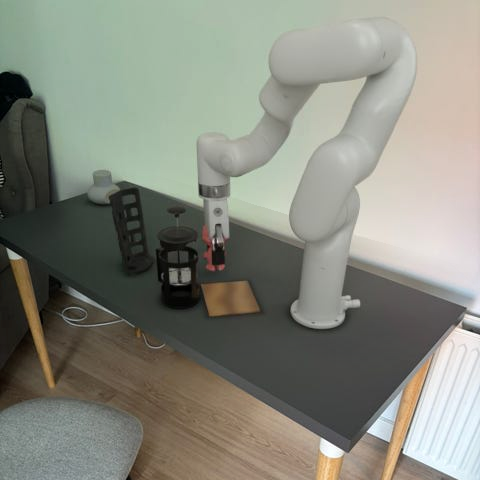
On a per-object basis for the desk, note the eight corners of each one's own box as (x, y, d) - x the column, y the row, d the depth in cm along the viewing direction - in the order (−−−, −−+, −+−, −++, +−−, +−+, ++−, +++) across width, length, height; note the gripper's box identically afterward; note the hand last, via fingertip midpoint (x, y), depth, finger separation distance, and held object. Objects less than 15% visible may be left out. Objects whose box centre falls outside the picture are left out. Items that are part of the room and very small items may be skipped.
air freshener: (108, 194, 178) (105, 165, 172) (125, 200, 174) (123, 171, 168) (84, 203, 170) (80, 173, 164) (101, 209, 166) (97, 179, 161)
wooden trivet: (247, 282, 130) (247, 280, 130) (260, 312, 119) (260, 310, 119) (200, 285, 128) (200, 284, 128) (209, 316, 117) (209, 314, 116)
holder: (143, 277, 130) (128, 201, 119) (115, 276, 132) (98, 201, 121) (157, 258, 139) (145, 186, 128) (131, 257, 141) (117, 186, 130)
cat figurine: (226, 260, 135) (226, 217, 128) (232, 272, 129) (232, 228, 122) (200, 263, 133) (198, 220, 127) (204, 275, 128) (203, 231, 121)
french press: (210, 298, 123) (209, 207, 110) (184, 315, 117) (180, 221, 104) (173, 282, 129) (169, 195, 116) (147, 298, 122) (139, 207, 109)
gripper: (237, 200, 113) (237, 272, 123) (223, 176, 127) (224, 242, 137) (203, 203, 112) (206, 275, 122) (193, 178, 126) (196, 244, 136)
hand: (215, 257), depth 129 cm, fingers closed on cat figurine, 6 cm apart
